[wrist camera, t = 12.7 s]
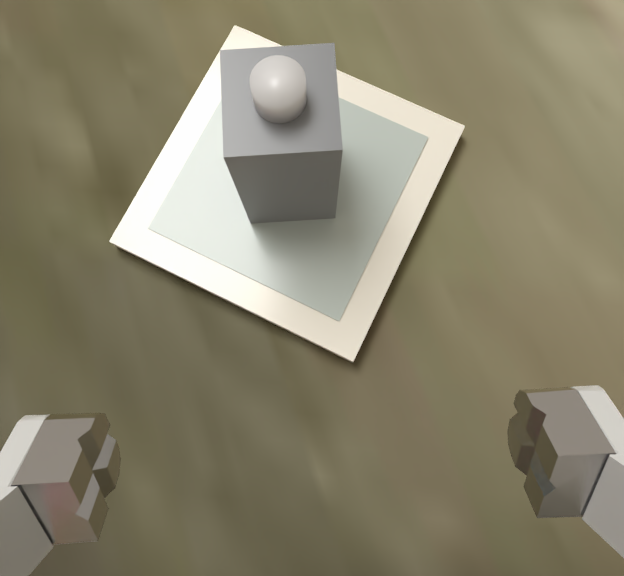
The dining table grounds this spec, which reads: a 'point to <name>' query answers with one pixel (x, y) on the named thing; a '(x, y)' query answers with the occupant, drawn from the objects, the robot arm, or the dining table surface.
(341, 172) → the plate
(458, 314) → the dining table surface
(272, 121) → the plug
